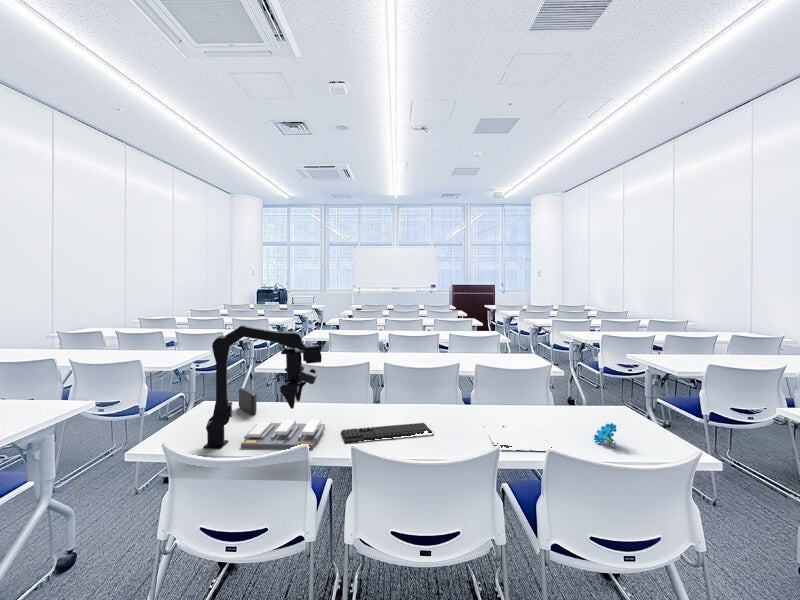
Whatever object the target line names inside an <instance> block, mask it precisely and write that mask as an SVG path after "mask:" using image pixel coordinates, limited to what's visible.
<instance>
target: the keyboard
mask: <svg viewBox="0 0 800 600" xmlns="http://www.w3.org/2000/svg"><path fill="white" fill-rule="evenodd" d="M427 426H428V425H427V424H426V423H425V422H417V423H407V424H406V423H405V424H395V425H384V426H381V425H380V426H371V427H370V426H369V427H359V428H347V429H346V428H345V429H342V430H340V435H341V438H342V439H343V443H344V444H353V443H352V442H356V443H359V442H358V441H364V440H375V439H382V438H393V437H401V436H411V435H415V434H416V433H417V434H420V433H421V434H423V433H424V431H426V430H427V431H428V433H432V432H433V430H430V429H431V428H430V427H429V426H428V427H429V428H430V429H429V428H428V427H427Z"/></svg>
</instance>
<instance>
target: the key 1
mask: <svg viewBox="0 0 800 600" xmlns="http://www.w3.org/2000/svg"><path fill="white" fill-rule="evenodd" d="M271 423H272V422H269V421H268V422H266V421H265V422H264V421H260V422H259V423H258V425H257V424H256V425H257V426H256V427H255V428H254V429H253V430H252V431H251V432H250V433H248V432H247V433H248V437H261V436H262V435H263V433H264V432H265V431H266V430H267V429H268V428H269V427H270V426H271Z"/></svg>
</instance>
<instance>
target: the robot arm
mask: <svg viewBox="0 0 800 600" xmlns="http://www.w3.org/2000/svg"><path fill="white" fill-rule="evenodd" d="M242 338H243V339H244V338H248V339H249V338H250V339H256V340H262V341H266V342H267V341H268V342H273V343H277V344H279V345H282V346H284V347H283V349H282V350H280V353H281V355H285V362H286V363H285V364H286V368H285V367H284V372H286V378H285V379H284V381H285V382H284V383H283V384H282V385H281V386H280V387H279V393H280V394H282V396H283V397H284V399H285V401H286V402H287V404H288V407H289V408H290V409H291V410H292V409H294V408H295V402H300V401H301V398H302V391H303V387H304V386H305V385H306V384H307V383H308V384H309V385H314V384H315V382H316V379H317V377H318V373H317V372H316V368H311V369H310V370H308V369H307V370H305V367H304V365H302V364H303V362H305V364H317V363H318V364H319V363H322V360H323V359H322V354H321V353H322V352H321V346H320V345H319V344H316V345H315V344H314V345H309V346H307V345H306V344H305V343H303V342H302V337H301V336H300V334H299V332H298V331H288V330H287V331H285V330H284V331H275V330H269V329H264V328H256V327H251V326H247V325H243V324H242V325H239V326H238V327H237V328H235V329H233V330H231V331H230V332H229V333H227V334H225V335H219V336H217V337H216V338H215V339H214V341H213V342H212V344H211V347H212V352H213V357H214V361H215V403H214V408H213V414H212V416H210V418H209V419H208V421H207V424H206V426H205V430H206V432H207V433H206V435H207V437H206V438H207V443H205V445H203V446H202V447H203V449H222V448H223V447H224V446H225V445H226V444H227V443H229V440H227V439H225V426H226V425H228V423H229V422H230V418H232V417H233V412H234V411H233V408H232V407H233V401H229V399H228V360H229V355H230V350H231V346H232V345H234V344H235V343H237V342H239V341H240V340H241V339H242ZM302 361H303V362H302Z"/></svg>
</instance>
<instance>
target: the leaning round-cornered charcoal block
mask: <svg viewBox="0 0 800 600" xmlns="http://www.w3.org/2000/svg"><path fill="white" fill-rule="evenodd" d="M257 404H258V402H257V392H256V391H255V390H253V389H251V388H244V387H243V388H239V389H238V407H239V408H240V410H243V411H245V412H246V413H248V414H250V416H251V415H252V416H254V415H256V414H257V412H258V411H257V407H258V405H257Z"/></svg>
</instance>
